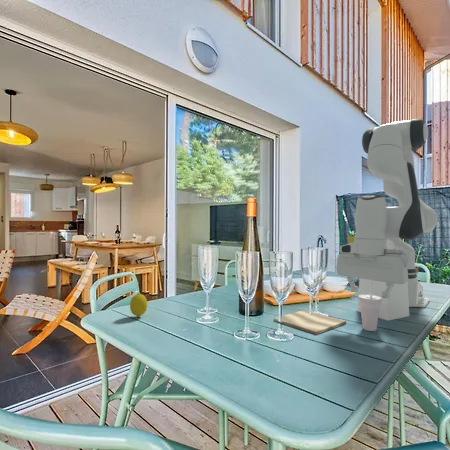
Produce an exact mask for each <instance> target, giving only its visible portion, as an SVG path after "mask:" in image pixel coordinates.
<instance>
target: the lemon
mask: <svg viewBox="0 0 450 450" xmlns="http://www.w3.org/2000/svg"><path fill="white" fill-rule="evenodd" d="M129 308H130V312H131V313H132V314H133V315H134V316H136V317H137V318H140V317H141V316H143V315H144V314H145V313H146V312H147V308H148V299H147V298H146V296H145V295H144V294H141V292H137V294H134V295H133V297H131V299H130V303H129Z"/></svg>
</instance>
